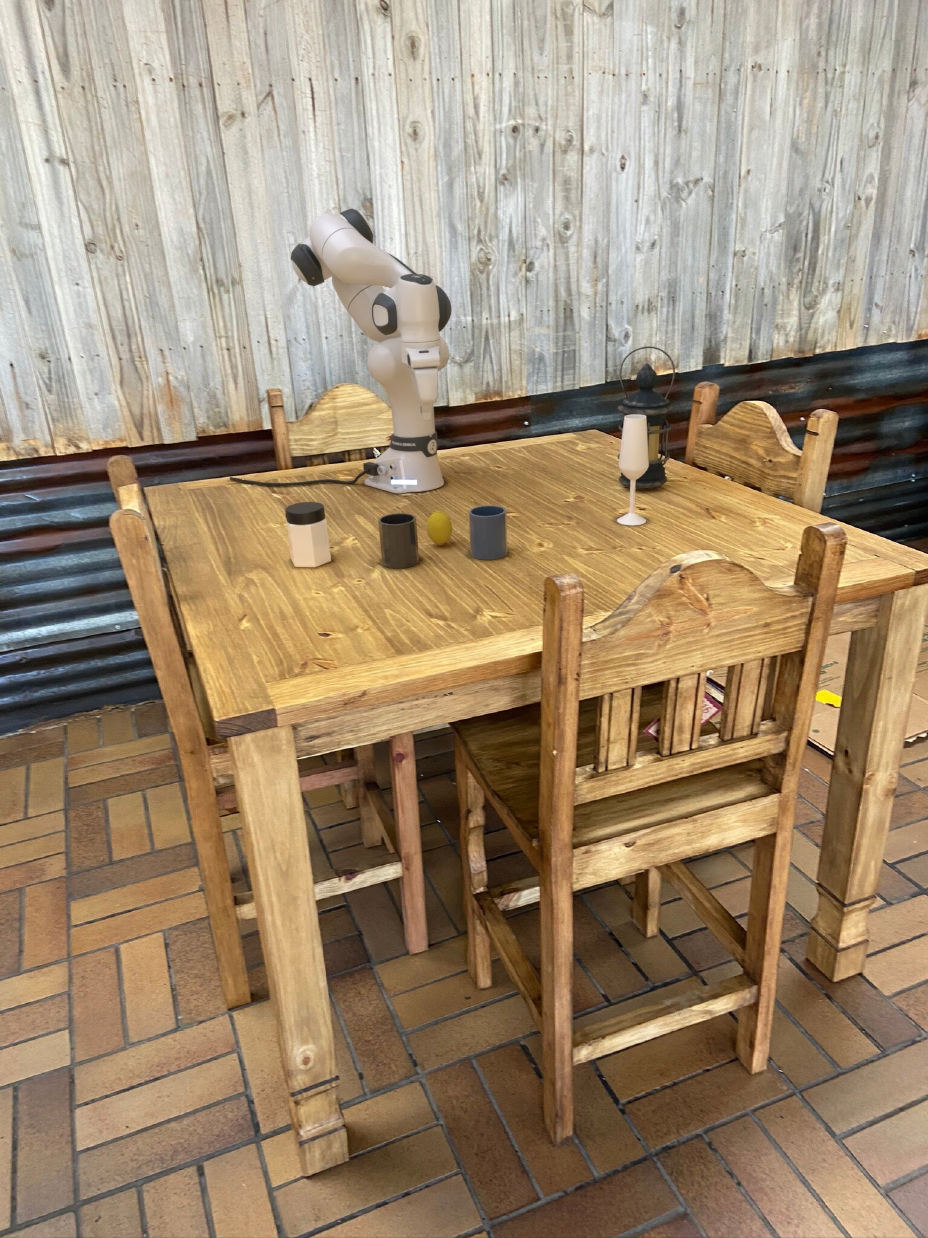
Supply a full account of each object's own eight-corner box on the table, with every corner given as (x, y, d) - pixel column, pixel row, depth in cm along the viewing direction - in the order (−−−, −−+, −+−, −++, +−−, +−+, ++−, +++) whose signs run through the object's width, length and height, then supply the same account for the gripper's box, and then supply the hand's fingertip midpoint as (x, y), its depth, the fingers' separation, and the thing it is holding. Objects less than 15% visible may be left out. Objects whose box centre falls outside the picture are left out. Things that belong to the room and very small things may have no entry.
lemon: (454, 541, 197) (452, 506, 194) (451, 549, 192) (449, 514, 189) (429, 541, 198) (427, 506, 195) (426, 549, 193) (423, 514, 190)
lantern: (606, 490, 228) (609, 349, 213) (626, 477, 238) (630, 342, 223) (659, 497, 220) (666, 351, 206) (678, 483, 231) (685, 344, 216)
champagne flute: (650, 517, 206) (654, 414, 196) (641, 526, 201) (645, 420, 191) (622, 514, 209) (625, 412, 199) (612, 523, 204) (615, 418, 194)
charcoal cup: (374, 564, 186) (370, 521, 182) (398, 553, 192) (395, 511, 188) (402, 571, 182) (399, 527, 178) (426, 559, 188) (423, 516, 184)
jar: (314, 551, 196) (308, 498, 191) (339, 558, 191) (333, 504, 186) (282, 563, 189) (275, 509, 184) (307, 571, 184) (300, 515, 180)
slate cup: (463, 555, 189) (461, 513, 185) (484, 545, 194) (483, 503, 190) (493, 562, 184) (492, 518, 180) (514, 551, 190) (513, 508, 186)
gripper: (403, 348, 203) (407, 409, 209) (411, 361, 184) (415, 427, 190) (430, 346, 204) (434, 407, 209) (441, 358, 185) (444, 425, 191)
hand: (425, 416), depth 200 cm, fingers open, 3 cm apart
